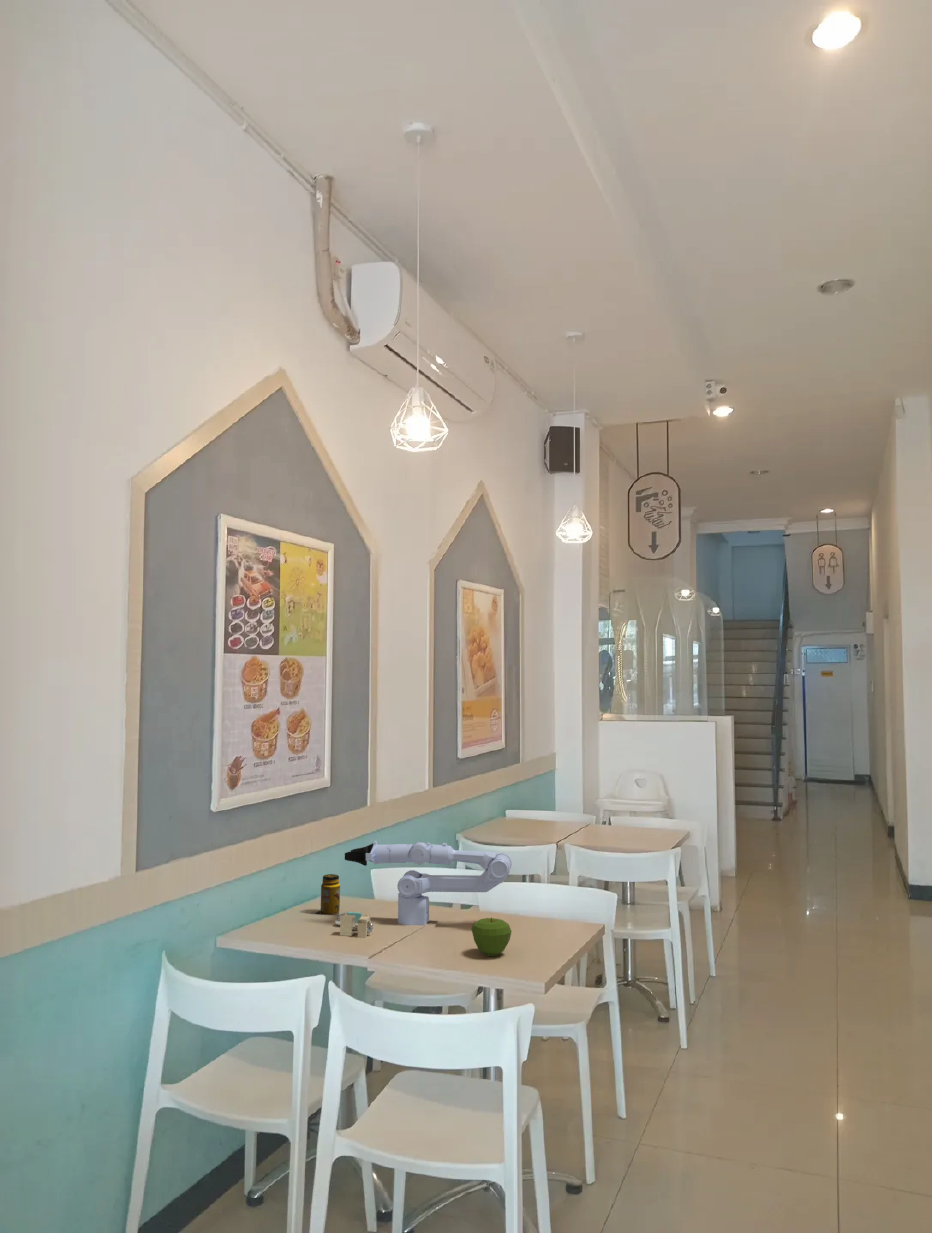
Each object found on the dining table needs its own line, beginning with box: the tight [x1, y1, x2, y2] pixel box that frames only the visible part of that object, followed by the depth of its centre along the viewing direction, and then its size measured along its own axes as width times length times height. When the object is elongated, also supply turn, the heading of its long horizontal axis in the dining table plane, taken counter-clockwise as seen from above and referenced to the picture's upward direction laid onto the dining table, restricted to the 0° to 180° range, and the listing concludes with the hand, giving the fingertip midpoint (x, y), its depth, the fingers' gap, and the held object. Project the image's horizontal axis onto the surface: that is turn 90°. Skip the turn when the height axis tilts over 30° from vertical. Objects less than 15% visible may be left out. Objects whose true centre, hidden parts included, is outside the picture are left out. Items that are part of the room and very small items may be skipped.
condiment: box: [311, 873, 345, 916], centre depth 289 cm, size 7×8×12 cm
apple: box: [471, 917, 513, 957], centre depth 247 cm, size 11×10×10 cm
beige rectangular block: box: [339, 914, 374, 937], centre depth 262 cm, size 9×4×5 cm, turn 80°
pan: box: [334, 911, 363, 926], centre depth 271 cm, size 8×4×3 cm, turn 80°
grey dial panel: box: [338, 915, 372, 939], centre depth 267 cm, size 15×15×6 cm
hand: (347, 854), depth 280 cm, fingers open, 7 cm apart
